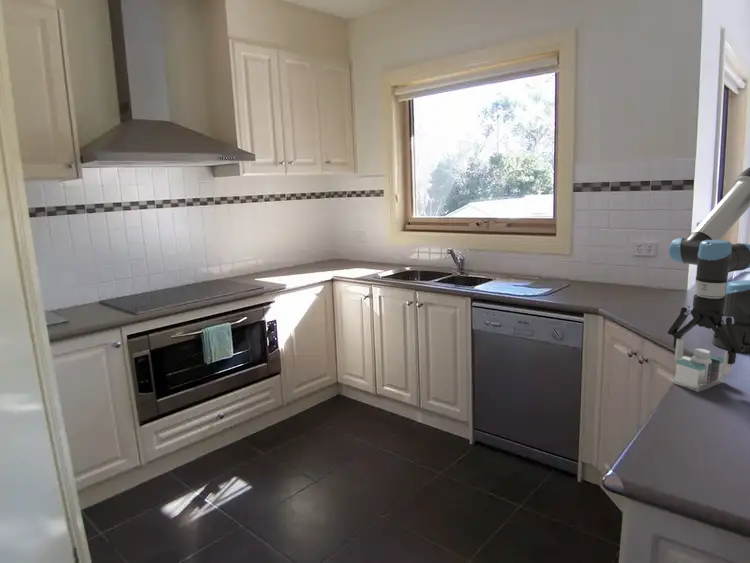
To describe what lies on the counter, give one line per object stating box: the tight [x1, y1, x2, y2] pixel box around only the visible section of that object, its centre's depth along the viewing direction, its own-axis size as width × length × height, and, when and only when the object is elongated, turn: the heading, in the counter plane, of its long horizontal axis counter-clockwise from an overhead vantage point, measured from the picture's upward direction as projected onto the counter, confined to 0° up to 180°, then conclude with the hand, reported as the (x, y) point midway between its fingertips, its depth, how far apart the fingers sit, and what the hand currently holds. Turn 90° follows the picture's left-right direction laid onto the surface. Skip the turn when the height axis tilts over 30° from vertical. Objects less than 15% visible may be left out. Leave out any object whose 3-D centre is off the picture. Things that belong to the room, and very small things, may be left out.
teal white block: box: [673, 354, 726, 393], centre depth 152 cm, size 13×7×7 cm, turn 118°
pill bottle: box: [690, 348, 712, 383], centre depth 151 cm, size 5×5×9 cm
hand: (701, 366), depth 151 cm, fingers open, 13 cm apart
